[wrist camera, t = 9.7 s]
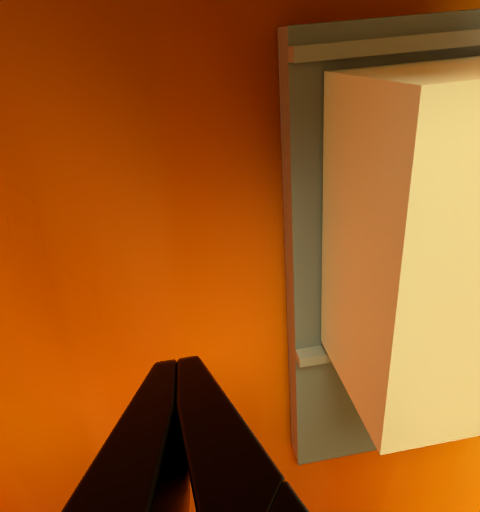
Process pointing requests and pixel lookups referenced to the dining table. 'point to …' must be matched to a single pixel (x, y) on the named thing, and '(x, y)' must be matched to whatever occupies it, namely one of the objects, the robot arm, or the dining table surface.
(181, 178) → the dining table surface
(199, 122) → the dining table surface
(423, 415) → the cover
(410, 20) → the base plate
